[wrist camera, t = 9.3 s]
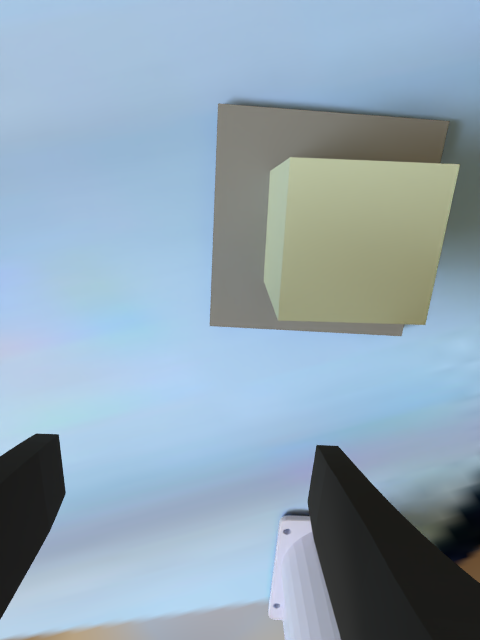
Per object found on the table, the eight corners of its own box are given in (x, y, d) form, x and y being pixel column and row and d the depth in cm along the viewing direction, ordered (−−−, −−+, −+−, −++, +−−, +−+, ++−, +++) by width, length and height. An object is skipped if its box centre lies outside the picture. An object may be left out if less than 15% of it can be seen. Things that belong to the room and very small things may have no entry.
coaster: (394, 330, 20) (401, 336, 19) (210, 320, 19) (209, 326, 18) (439, 124, 16) (449, 121, 16) (219, 107, 16) (218, 103, 15)
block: (364, 283, 18) (424, 324, 12) (263, 280, 18) (277, 320, 12) (380, 175, 16) (459, 164, 11) (270, 171, 16) (290, 157, 10)
